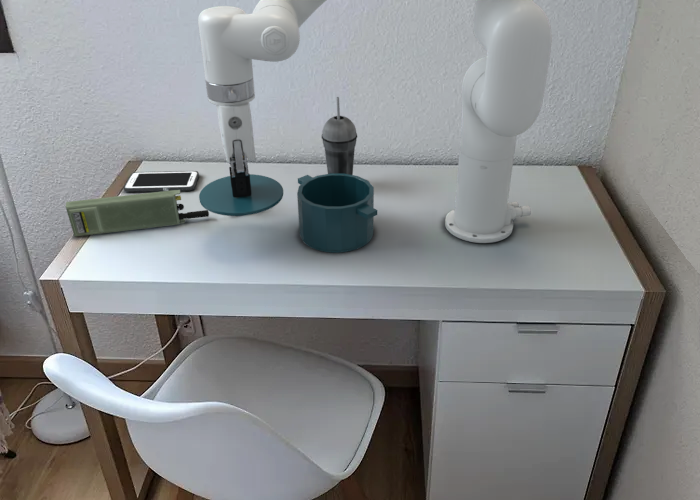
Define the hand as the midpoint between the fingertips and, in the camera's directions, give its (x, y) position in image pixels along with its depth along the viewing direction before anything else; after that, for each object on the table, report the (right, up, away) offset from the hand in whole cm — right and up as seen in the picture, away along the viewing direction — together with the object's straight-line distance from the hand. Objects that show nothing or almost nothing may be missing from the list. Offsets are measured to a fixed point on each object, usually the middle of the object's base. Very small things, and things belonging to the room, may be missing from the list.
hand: (241, 190), depth 115 cm
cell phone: (-21, +4, +26) cm, 33 cm away
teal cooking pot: (+17, -7, +8) cm, 20 cm away
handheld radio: (-21, -6, +11) cm, 24 cm away
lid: (0, -1, 0) cm, 1 cm away
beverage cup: (+17, +3, +23) cm, 29 cm away
